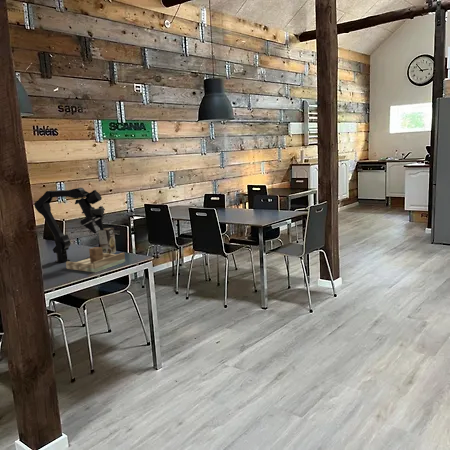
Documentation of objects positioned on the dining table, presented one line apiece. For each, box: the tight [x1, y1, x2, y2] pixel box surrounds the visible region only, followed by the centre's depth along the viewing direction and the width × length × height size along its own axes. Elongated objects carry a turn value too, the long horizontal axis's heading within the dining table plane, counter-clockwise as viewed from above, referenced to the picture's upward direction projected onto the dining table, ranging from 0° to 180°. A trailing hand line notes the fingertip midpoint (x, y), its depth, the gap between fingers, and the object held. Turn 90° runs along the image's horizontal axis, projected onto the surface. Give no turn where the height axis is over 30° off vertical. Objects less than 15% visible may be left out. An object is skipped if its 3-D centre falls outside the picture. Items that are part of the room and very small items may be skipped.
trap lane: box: [65, 252, 126, 273], centre depth 257 cm, size 22×23×6 cm
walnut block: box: [88, 246, 103, 263], centre depth 256 cm, size 5×5×8 cm
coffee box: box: [98, 227, 117, 254], centre depth 283 cm, size 9×6×16 cm
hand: (99, 231), depth 263 cm, fingers open, 9 cm apart
